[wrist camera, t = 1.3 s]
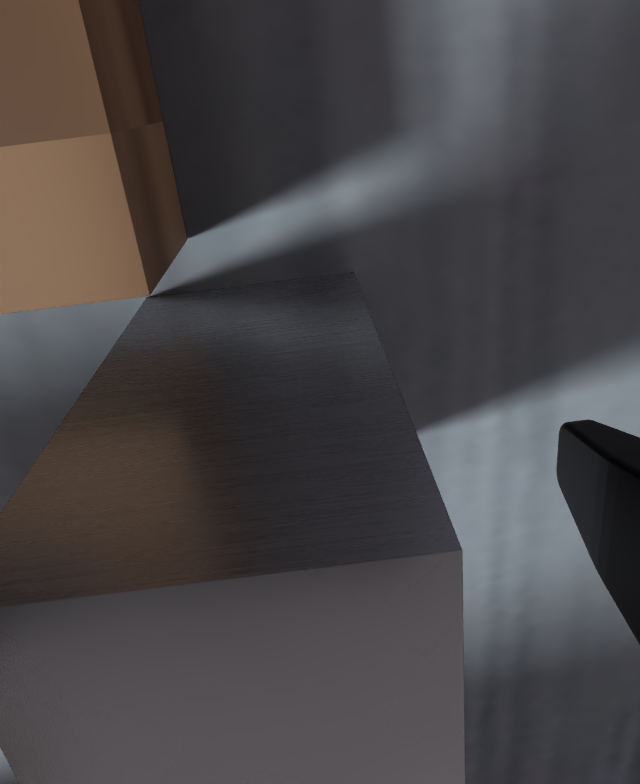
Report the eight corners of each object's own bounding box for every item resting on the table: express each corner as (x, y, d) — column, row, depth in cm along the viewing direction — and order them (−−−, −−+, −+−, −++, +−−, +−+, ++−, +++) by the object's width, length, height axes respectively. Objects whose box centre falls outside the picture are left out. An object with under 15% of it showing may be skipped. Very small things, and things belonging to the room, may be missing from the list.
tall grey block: (353, 271, 12) (462, 550, 5) (369, 449, 14) (465, 853, 6) (146, 298, 12) (-70, 615, 5) (189, 471, 14) (81, 899, 6)
